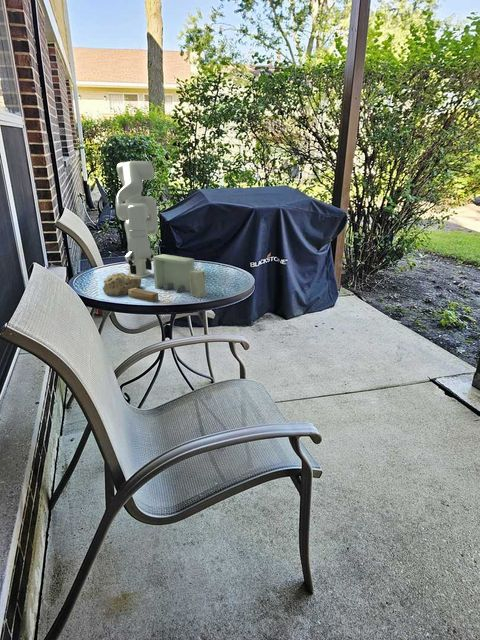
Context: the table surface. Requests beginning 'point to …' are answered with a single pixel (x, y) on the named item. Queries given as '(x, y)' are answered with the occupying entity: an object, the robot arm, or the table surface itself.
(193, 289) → the skincare box
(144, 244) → the robot arm
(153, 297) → the walnut batten
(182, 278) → the shelter
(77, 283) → the table surface
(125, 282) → the rock
